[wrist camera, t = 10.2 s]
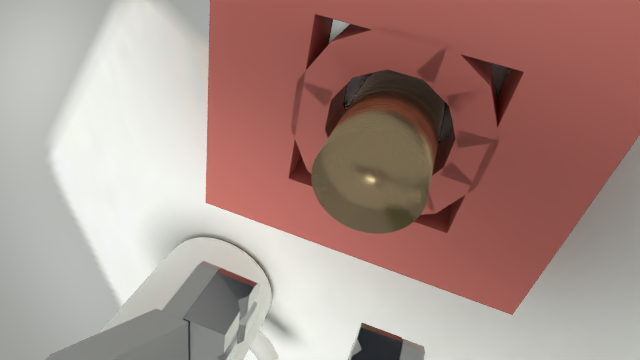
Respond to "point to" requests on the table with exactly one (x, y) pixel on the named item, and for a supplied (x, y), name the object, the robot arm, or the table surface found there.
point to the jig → (454, 152)
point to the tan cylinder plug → (381, 154)
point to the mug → (177, 271)
